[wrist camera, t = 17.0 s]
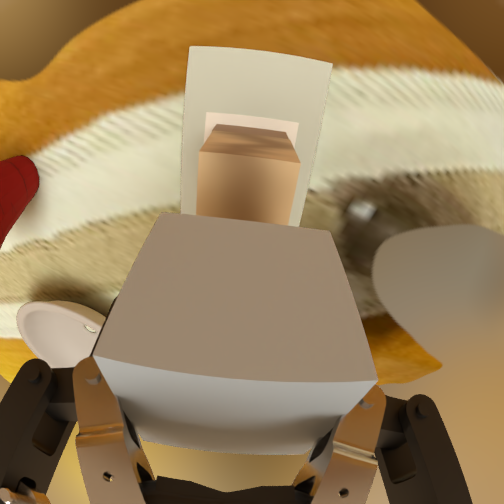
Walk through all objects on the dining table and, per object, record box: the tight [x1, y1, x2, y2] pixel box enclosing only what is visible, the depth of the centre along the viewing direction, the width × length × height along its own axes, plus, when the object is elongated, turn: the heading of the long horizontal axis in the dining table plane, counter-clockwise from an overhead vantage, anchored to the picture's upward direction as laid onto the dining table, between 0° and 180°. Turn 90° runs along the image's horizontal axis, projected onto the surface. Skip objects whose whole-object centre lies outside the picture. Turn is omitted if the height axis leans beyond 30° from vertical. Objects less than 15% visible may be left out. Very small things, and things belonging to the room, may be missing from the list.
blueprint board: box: [181, 46, 333, 227], centre depth 25 cm, size 12×20×4 cm, turn 173°
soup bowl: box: [17, 300, 106, 368], centre depth 40 cm, size 24×24×7 cm
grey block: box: [93, 212, 378, 455], centre depth 9 cm, size 6×6×6 cm
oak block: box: [196, 130, 301, 226], centre depth 21 cm, size 6×6×6 cm
